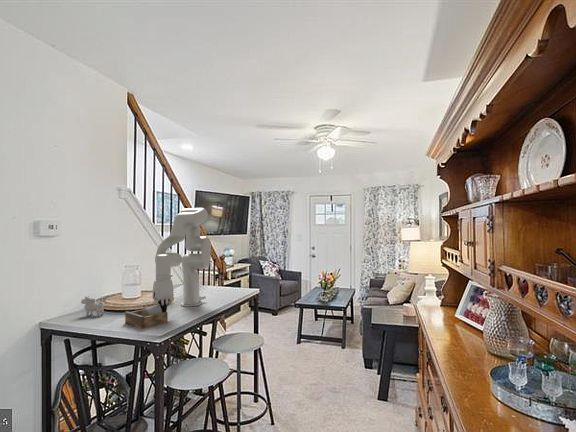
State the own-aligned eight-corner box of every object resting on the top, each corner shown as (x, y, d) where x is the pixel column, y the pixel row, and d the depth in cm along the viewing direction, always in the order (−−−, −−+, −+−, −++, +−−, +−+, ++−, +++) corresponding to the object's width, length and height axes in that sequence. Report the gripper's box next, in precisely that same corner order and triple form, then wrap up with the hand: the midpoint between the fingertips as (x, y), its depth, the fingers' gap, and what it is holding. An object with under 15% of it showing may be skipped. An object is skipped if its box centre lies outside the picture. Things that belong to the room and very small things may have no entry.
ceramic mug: (140, 321, 174) (140, 306, 174) (154, 317, 180) (154, 303, 180) (151, 325, 167) (151, 309, 167) (166, 321, 174) (166, 306, 174)
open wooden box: (150, 316, 182) (150, 306, 182) (167, 322, 172) (167, 310, 172) (125, 323, 172) (125, 311, 172) (141, 328, 161) (141, 317, 161)
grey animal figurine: (85, 313, 192) (85, 295, 192) (106, 314, 190) (105, 295, 190) (78, 316, 187) (78, 297, 187) (99, 316, 185) (99, 297, 185)
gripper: (171, 275, 188) (172, 308, 187) (146, 278, 176) (146, 314, 176) (179, 276, 183) (179, 310, 183) (153, 280, 172) (154, 316, 171)
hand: (163, 312), depth 179 cm, fingers closed
